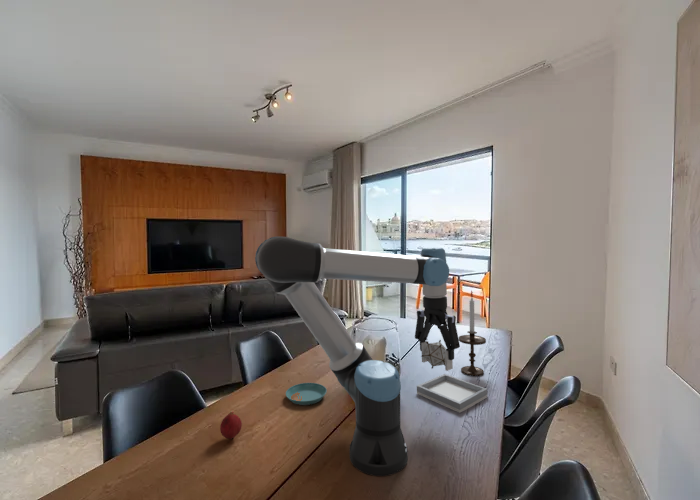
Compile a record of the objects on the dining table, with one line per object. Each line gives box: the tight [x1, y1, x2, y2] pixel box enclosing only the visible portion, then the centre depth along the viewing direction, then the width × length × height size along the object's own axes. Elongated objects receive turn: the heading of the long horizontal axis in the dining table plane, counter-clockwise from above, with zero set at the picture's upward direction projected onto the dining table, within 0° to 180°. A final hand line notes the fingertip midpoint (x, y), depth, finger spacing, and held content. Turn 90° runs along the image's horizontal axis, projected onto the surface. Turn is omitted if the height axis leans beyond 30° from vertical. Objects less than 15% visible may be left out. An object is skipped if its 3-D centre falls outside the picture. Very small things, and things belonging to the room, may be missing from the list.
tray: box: [416, 373, 488, 414], centre depth 122 cm, size 17×18×3 cm
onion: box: [219, 410, 243, 440], centre depth 97 cm, size 6×6×8 cm
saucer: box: [285, 382, 328, 406], centre depth 122 cm, size 15×15×3 cm
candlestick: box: [458, 289, 487, 377], centre depth 142 cm, size 11×11×35 cm
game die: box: [420, 339, 447, 370], centre depth 108 cm, size 9×8×10 cm
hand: (436, 365), depth 109 cm, fingers closed on game die, 9 cm apart
